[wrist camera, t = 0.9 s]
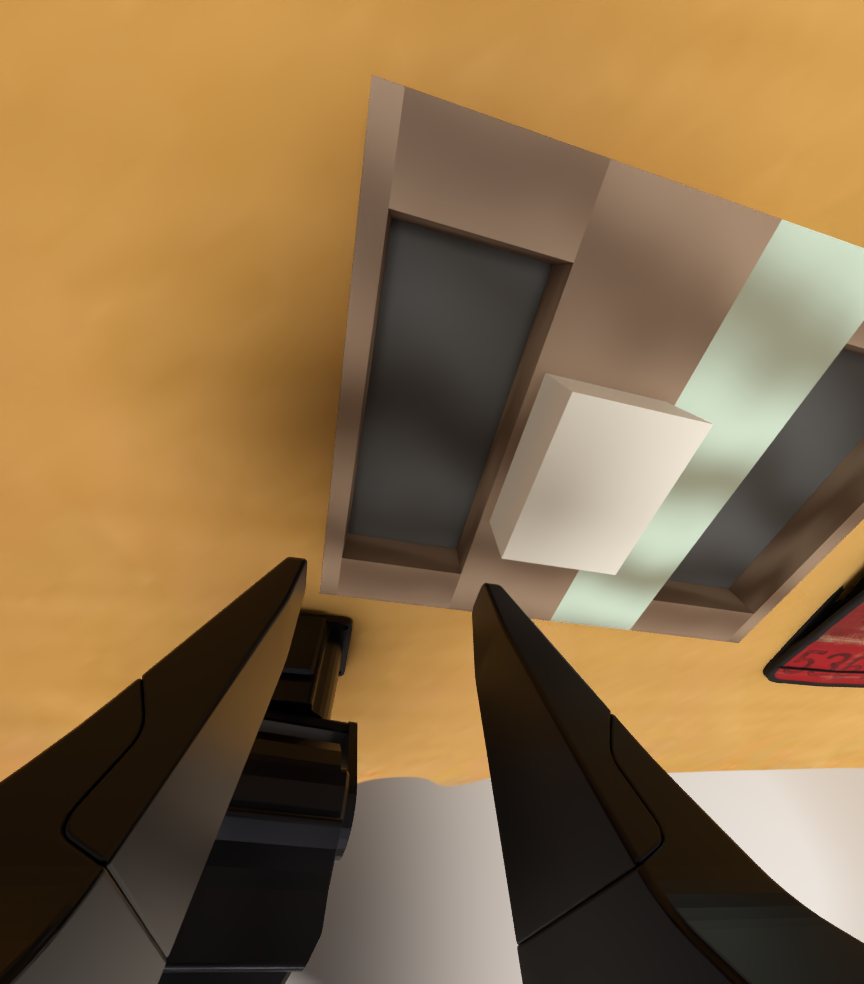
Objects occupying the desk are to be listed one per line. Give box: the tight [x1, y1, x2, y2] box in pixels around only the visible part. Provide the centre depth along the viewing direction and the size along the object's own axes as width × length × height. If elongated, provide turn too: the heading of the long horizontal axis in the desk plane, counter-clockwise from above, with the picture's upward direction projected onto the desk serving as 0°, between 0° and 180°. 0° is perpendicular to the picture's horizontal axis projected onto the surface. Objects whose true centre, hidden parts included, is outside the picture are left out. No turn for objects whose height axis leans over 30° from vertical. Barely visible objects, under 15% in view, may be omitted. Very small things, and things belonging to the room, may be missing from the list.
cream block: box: [489, 373, 714, 575], centre depth 17 cm, size 8×6×3 cm
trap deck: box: [320, 75, 864, 643], centre depth 20 cm, size 22×30×2 cm
